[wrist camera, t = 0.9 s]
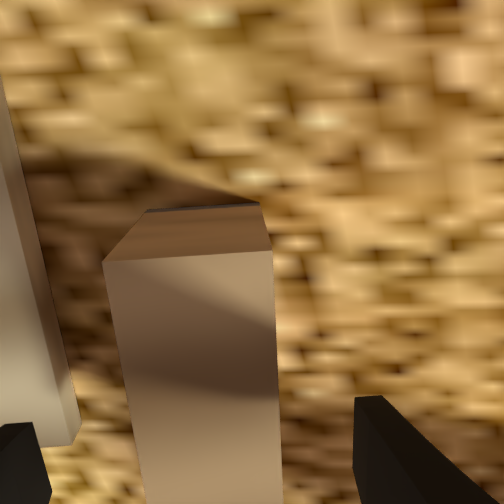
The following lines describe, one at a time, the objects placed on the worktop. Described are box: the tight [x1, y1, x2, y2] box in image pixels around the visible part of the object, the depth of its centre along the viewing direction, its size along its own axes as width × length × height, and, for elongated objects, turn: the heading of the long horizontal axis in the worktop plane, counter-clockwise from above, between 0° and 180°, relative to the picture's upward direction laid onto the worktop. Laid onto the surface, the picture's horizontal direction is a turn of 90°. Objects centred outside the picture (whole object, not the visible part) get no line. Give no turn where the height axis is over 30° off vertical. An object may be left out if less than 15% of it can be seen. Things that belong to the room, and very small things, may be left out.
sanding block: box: [102, 202, 283, 504], centre depth 14 cm, size 8×4×6 cm, turn 3°
